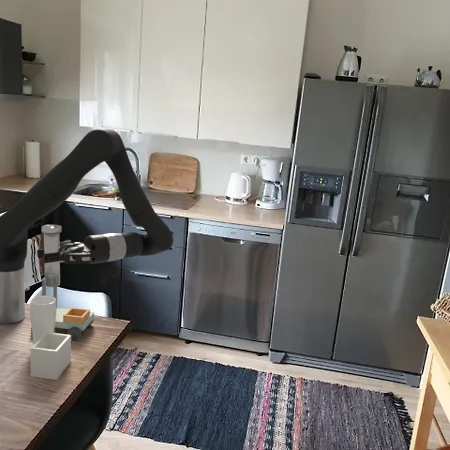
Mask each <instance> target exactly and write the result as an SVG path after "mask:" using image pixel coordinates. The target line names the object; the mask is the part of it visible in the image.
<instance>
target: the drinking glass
mask: <svg viewBox="0 0 450 450" xmlns="http://www.w3.org/2000/svg"><path fill="white" fill-rule="evenodd" d="M29 304H30V306H29V307H30V309H29V310H30V312H29V313H30V323H31V327H32V334H33V336H32V342H33V343H32V346H33V345H34V344H35V343H36V342H37V341H38V340H39V339H40V338H41V337H42V336H43V335H44V334H45V333H47V332H49V333H54V330H55V328H56V327H55V320H56V299H55V298H54V297H53V295H52V296H51V295H46V296H42V295H40V296H35V297H32V299H30V303H29Z"/></svg>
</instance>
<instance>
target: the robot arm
mask: <svg viewBox="0 0 450 450" xmlns="http://www.w3.org/2000/svg"><path fill="white" fill-rule="evenodd" d="M104 162H105V163H106V165H107V166H108V168H109V169H110V171H111V173H112V175H113V177H114V179H115V181H116V185H117V188H118V189H117V190H118V192H119V197H120V199H121V203H122V204H123V206H124V209H125V210H126V212H127V214H128V216H129V218H130V220H131V221H132V223H133V224H134V225H135V226H136V227H138V228H140V227H141V228H143V230H144V231H145V232H142V233H138V232H136V231H135V232H133V231H129V232H120V233H115V232H112V233H111V232H110V233H103V234H94V235H93V234H91V235H87V236H86V237H85V239H84V240H83V242H80V241H79V242H78V241H76V242H71V241H72V240H70V239H67V240H64V241H59V244H60V254H59V252H55V253H47V254H44V248H38V249H37V251H36V257H37V258H38V259H42V261H43V263H51V262H58V261H60V263H64V264H65V265H74V264H75V265H76V264H79V265H81V264H82V265H83V264H91V265H93V264H101V263H106V262H107V263H108V262H113V261H118V260H120V259H128V258H133V257H145V256H146V257H147V256H148V257H149V256H154V255H157V254H160V253H163V252H166V251H168V250H170V248H172V246H173V244H174V236H173V233H172V230H171V228H169V226H168V225H167V224H166V222H164V220H163V219H162V218H161V216H159V215H158V214H157V213H156V212H155V210H154V208H153V206H152V204H151V202H150V200H149V198H148V197H147V195H146V193H145V191H144V189H143V188H142V186H141V183H140V181H139V179H138V176H137V175H136V173H135V171H134V168H133V166H132V163H131V161H130V158H129V155H128V152H127V149H126V146H125V143H124V141H123V139H122V137H121V135H120V134H119V133H118V131H115V129H111V128H102V127H101V128H94V129H92V130H90V131H89V132H87V134H85V135H84V136H83V137H82V139H81V140H80V141H79V142H78V144H77V145H75V147H74V148H73V149H72V150H71V152H70V153H69V154H67V156H66V157H65V158H63V159H62V160H61V161H59V162H58V163H57V164H56V165H55V166H53V167H52V168H51V169H50V170H49V171H48V172H47V173H46V174H44V175H42V177H41V178H40V179H39V180H38V181H37V182H36V183H34V184H33V185H32V186H31V188H30V189H29V190H27V191H26V192H25V194H23V195H22V196H21V197H20V199H18V201H17V202H16V203H14V205H13V206H12V207H10V208H9V209H8V210H7V211H5V212H4V213H3V214H1V215H0V324H1V325H3V324H4V325H9V324H10V325H11V324H16V323H18V322H21V321H23V320H24V319H25V318H26V294H25V293H26V291H25V290H26V288H25V286H26V284H25V281H26V280H25V276H26V274H25V273H26V272H25V262H26V259H27V256H28V237H29V236H28V227H30V226H31V225H33V224H34V223H35V222H37V221H39V220H41V219H42V218H44V217H45V216H47V215H49V214H50V213H52V212H54V211H55V210H56V209H58V208H59V207H60V206H61V205H62V204H63V203H64V202H66V201H67V200H68V199H69V198H70V197H71V196H72V194H74V192H75V191H76V190H77V187H78V186H79V185H80V182H81V181H82V180H83V178H84V177H85V176H86V175H87V174H88V173H90V172H91V171H93V170H94V168H96V167H98V166H99V165H101V164H103V163H104Z"/></svg>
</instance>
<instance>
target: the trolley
mask: <svg viewBox="0 0 450 450" xmlns="http://www.w3.org/2000/svg"><path fill="white" fill-rule="evenodd" d="M52 289H53V290H52V291H53V293H52V294H53V295H52V297H54V298H55V299H56V320H55V330H54V333H57V329H58V328H59V329H67V331H66V332H67V333H66V335H71V342H76V341H78V340H79V339H80V338H81V337H82V335H83V334H82V332H84V330H86V329H87V327H89V326H91V325H92V324H93V322H94V321H95V312H94V311H91V310H90V309H88V308H81V307H73V306H72V307H69V308H61V307H60V308H59V307H58V286H57V287H52ZM41 296H47V287H46V286H45V276H44V277H43V278H42V279H41ZM56 328H57V329H56Z"/></svg>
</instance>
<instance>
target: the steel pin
mask: <svg viewBox="0 0 450 450" xmlns="http://www.w3.org/2000/svg"><path fill="white" fill-rule="evenodd" d="M41 233H42V234H43V249H44V254H47V253H55V252H59V254H60V244H59V242H60V233H62V226H61V225H60V224H59V225H58V224H44V225H42V226H41ZM43 263H44V262H43ZM60 264H61V262H60V261H58V262H51V263H44V277H45V286H46V288H53V287H57V288H58V287H59V286H61V267H60Z"/></svg>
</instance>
